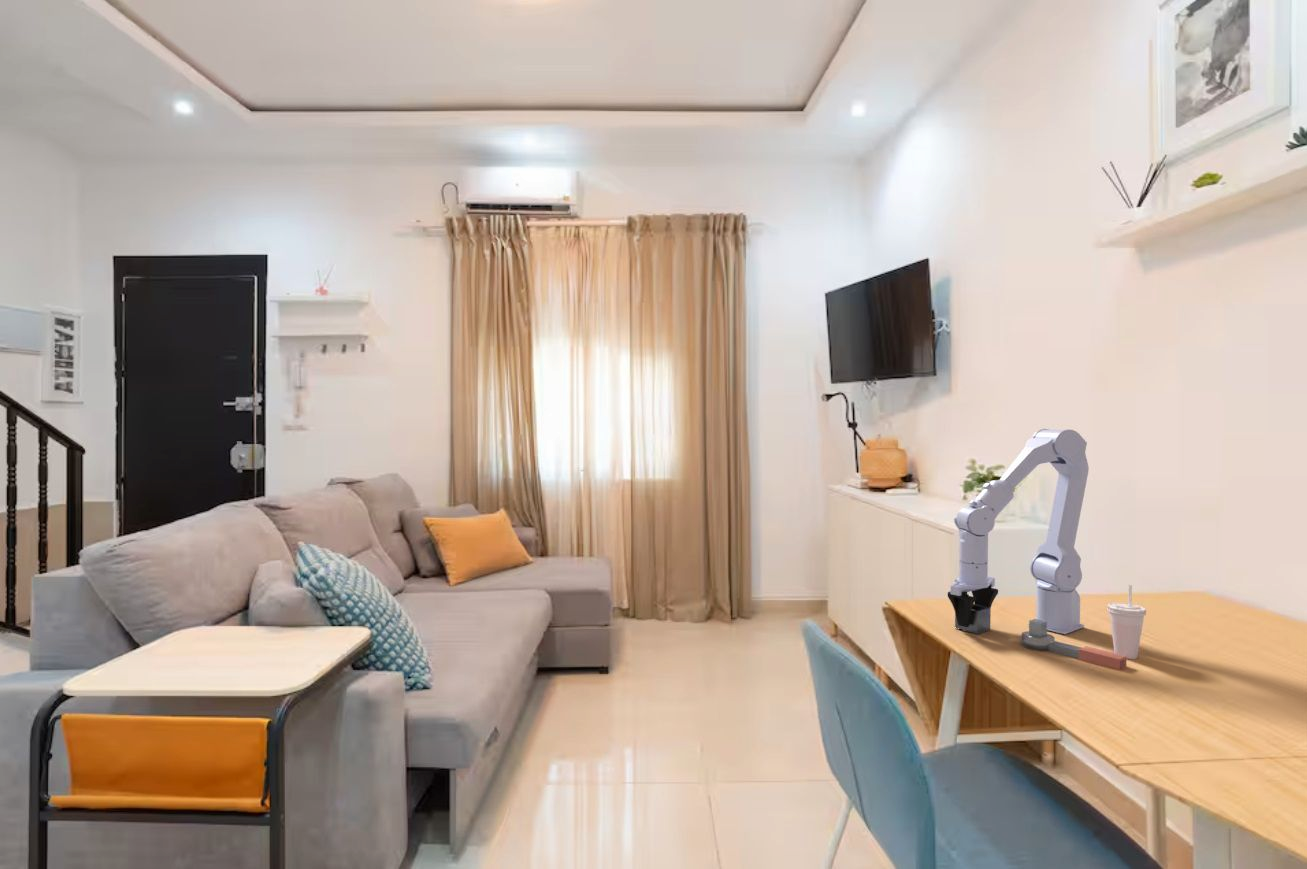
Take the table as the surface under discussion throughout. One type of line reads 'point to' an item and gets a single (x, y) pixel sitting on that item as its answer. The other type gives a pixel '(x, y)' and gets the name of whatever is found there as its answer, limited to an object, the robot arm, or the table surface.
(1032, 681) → the table surface
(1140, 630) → the smoothie
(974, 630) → the hollow square tube
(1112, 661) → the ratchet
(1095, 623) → the table surface
